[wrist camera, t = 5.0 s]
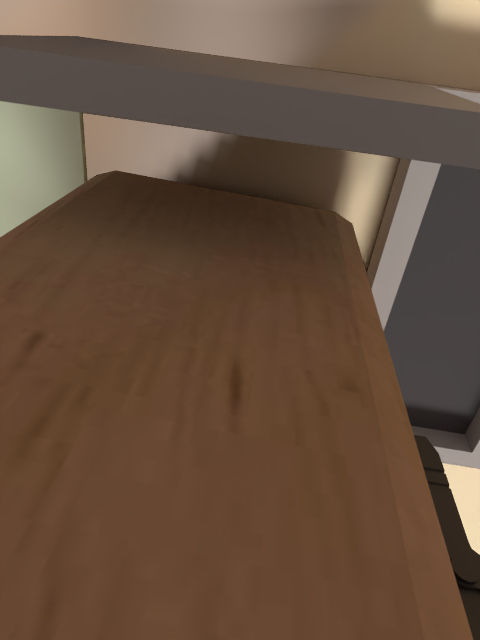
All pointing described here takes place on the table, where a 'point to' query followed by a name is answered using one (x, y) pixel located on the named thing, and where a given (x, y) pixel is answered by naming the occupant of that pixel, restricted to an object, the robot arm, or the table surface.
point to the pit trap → (434, 299)
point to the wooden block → (205, 429)
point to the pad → (37, 159)
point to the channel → (241, 97)
